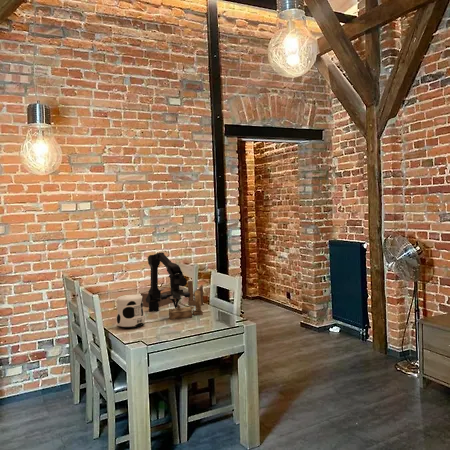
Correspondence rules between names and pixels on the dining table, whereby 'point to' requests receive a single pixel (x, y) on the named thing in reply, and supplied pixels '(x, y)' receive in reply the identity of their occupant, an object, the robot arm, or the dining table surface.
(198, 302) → the key peg
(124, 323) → the milk container
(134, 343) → the dining table surface
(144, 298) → the tissue box cover
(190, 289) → the wooden block
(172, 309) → the lid
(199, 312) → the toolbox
